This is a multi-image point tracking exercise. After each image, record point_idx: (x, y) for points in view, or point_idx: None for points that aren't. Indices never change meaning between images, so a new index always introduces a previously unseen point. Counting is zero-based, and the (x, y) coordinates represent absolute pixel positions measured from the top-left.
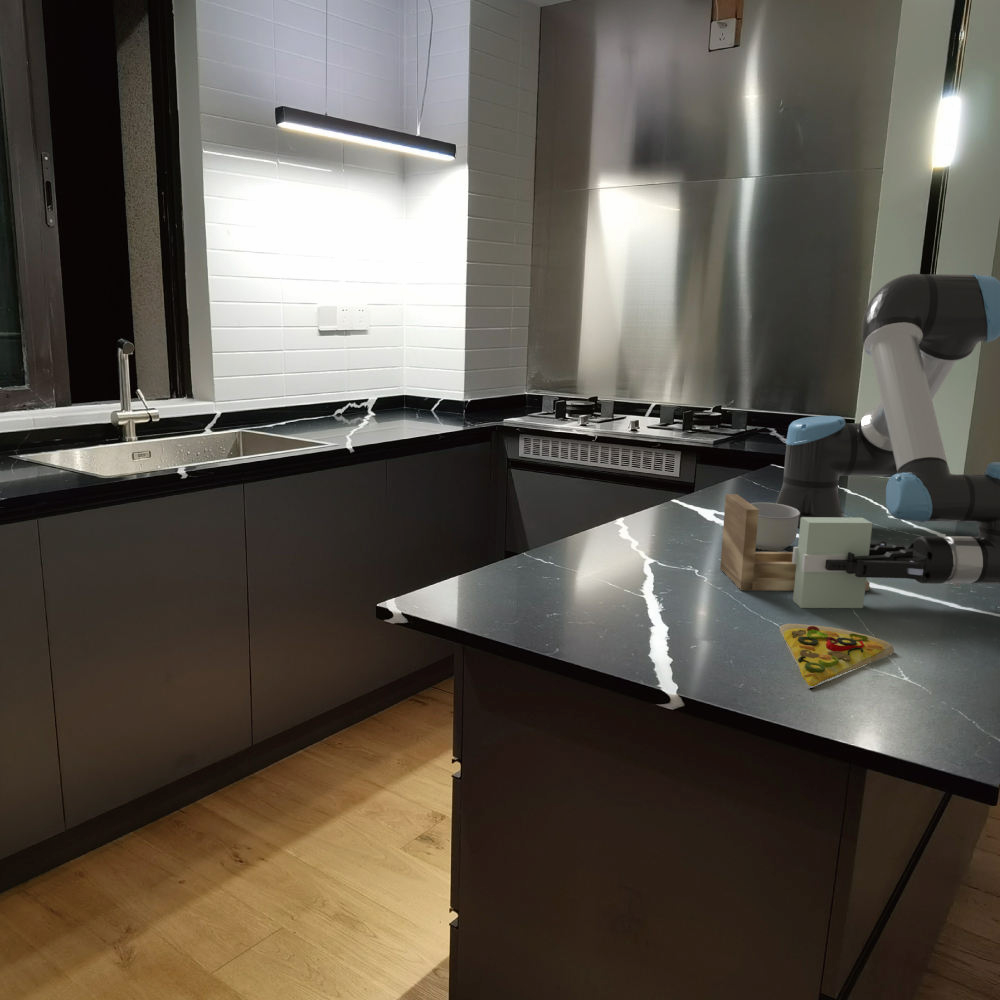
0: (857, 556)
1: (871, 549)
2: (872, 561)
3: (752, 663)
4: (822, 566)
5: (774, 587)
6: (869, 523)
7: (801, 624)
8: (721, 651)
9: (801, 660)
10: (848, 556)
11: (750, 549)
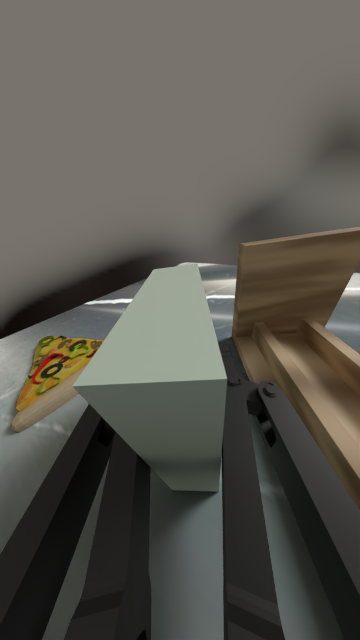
0: None
1: (231, 547)
2: (82, 430)
3: (90, 324)
4: None
5: (243, 361)
6: (86, 372)
7: None
8: (112, 316)
9: (60, 337)
10: None
11: (237, 301)
